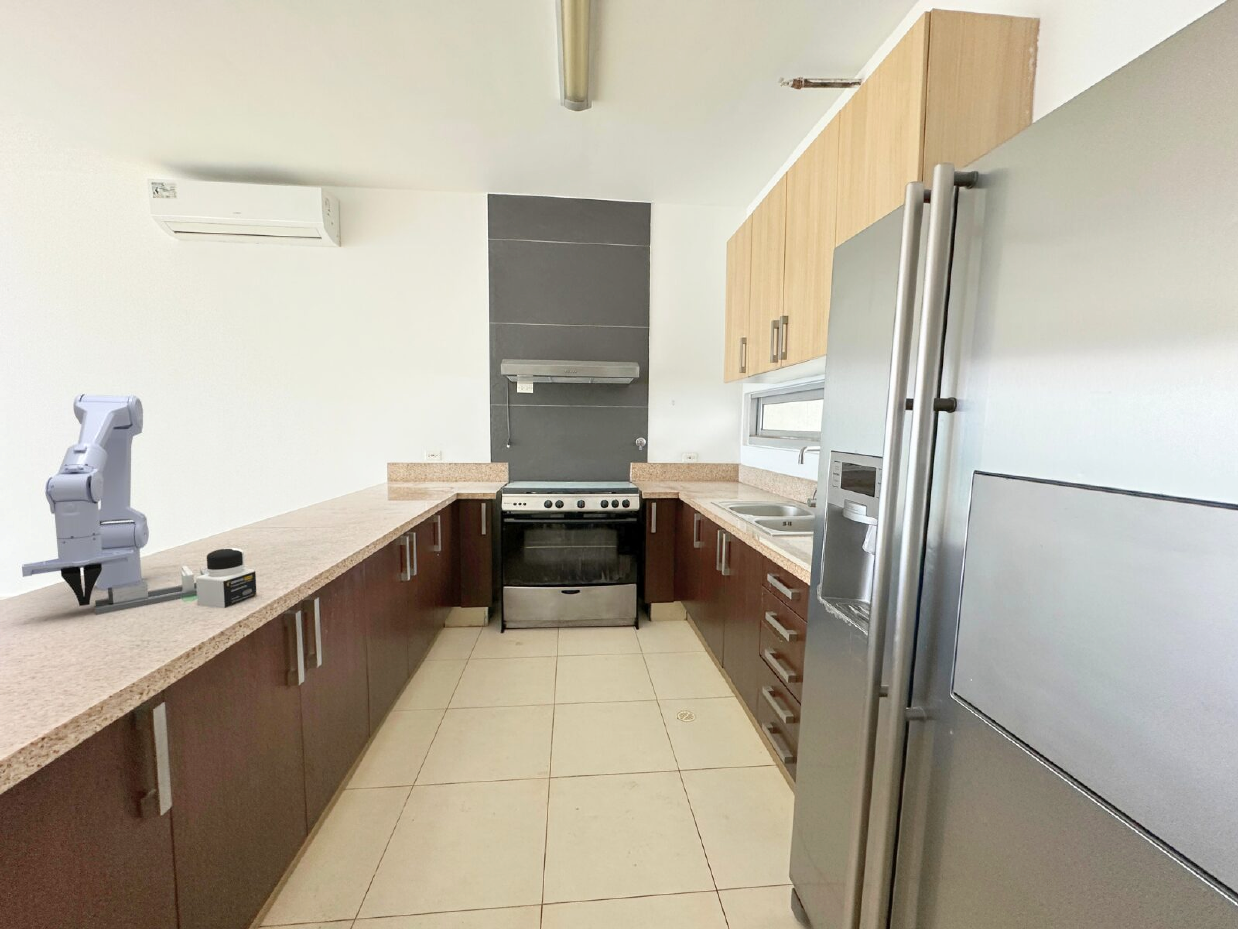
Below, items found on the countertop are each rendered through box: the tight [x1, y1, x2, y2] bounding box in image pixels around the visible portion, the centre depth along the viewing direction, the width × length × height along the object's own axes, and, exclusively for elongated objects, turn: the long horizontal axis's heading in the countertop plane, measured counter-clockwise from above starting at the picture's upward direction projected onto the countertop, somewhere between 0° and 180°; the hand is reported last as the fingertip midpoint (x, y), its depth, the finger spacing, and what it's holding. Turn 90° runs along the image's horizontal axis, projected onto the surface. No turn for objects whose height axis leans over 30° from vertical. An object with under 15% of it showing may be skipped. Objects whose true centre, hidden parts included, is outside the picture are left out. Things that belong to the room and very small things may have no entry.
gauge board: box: [94, 568, 208, 616], centre depth 104 cm, size 12×18×5 cm, turn 137°
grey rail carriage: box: [107, 579, 149, 605], centre depth 101 cm, size 4×6×4 cm
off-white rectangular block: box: [180, 565, 195, 592], centre depth 107 cm, size 9×2×5 cm, turn 47°
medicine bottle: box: [195, 547, 258, 609], centre depth 103 cm, size 7×7×12 cm
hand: (84, 604), depth 96 cm, fingers closed
